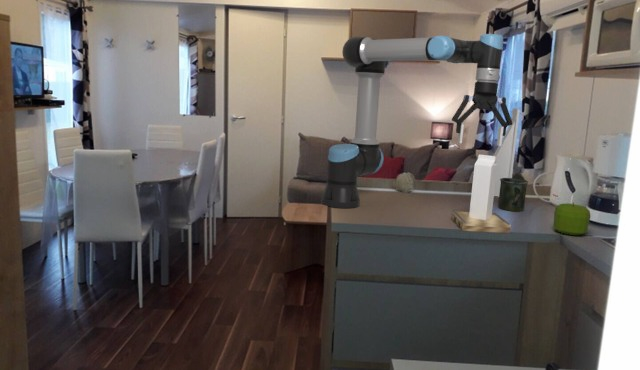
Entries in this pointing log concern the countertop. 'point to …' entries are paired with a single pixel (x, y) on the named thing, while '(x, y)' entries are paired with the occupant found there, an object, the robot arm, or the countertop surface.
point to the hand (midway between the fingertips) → (479, 144)
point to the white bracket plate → (506, 152)
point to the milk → (483, 187)
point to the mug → (512, 194)
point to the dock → (480, 223)
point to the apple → (571, 219)
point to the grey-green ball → (405, 182)
